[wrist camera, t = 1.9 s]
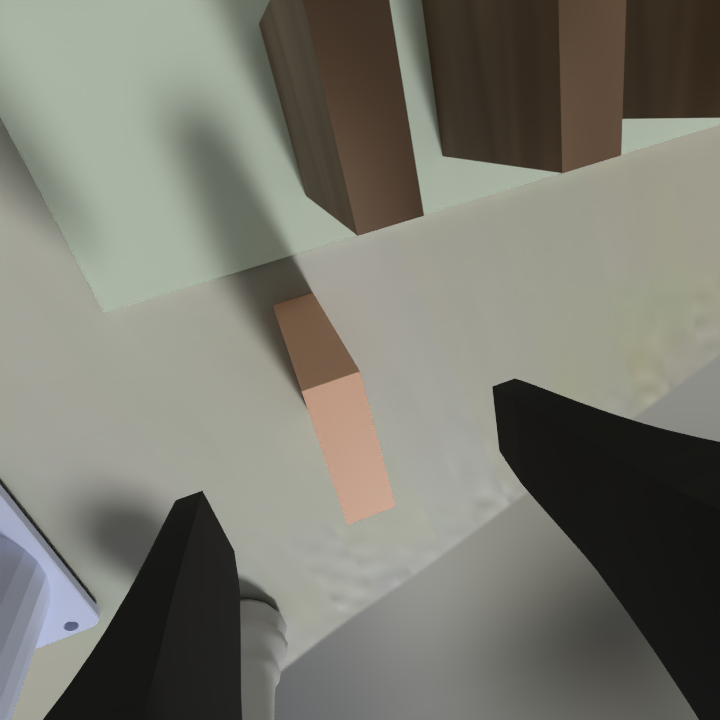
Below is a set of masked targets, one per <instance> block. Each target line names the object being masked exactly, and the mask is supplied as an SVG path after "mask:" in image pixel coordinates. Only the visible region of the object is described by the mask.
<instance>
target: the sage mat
mask: <svg viewBox="0 0 720 720" xmlns="http://www.w3.org/2000/svg"><path fill="white" fill-rule="evenodd" d="M269 1H270V0H0V118H1V120H2V122H3V124H4V126H5V127H6V129H7V131H8V133H9V135H10V137H11V139H12V141H13V142H14V144H15V146H16V148H17V150H18V152H19V154H20V156H21V157H22V159H23V161H24V163H25V165H26V167H27V169H28V171H29V173H30V174H31V176H32V178H33V180H34V182H35V184H36V186H37V188H38V189H39V191H40V193H41V195H42V197H43V199H44V201H45V203H46V205H47V206H48V208H49V210H50V212H51V214H52V216H53V218H54V220H55V221H56V223H57V225H58V227H59V229H60V231H61V233H62V235H63V237H64V238H65V240H66V242H67V244H68V246H69V248H70V250H71V252H72V253H73V255H74V257H75V259H76V261H77V263H78V265H79V267H80V268H81V270H82V272H83V274H84V276H85V278H86V280H87V282H88V284H89V285H90V287H91V289H92V291H93V293H94V295H95V297H96V299H97V300H98V302H99V304H100V306H101V308H102V310H103V312H104V313H105V312H109V311H112V310H115V309H118V308H122V307H125V306H128V305H132V304H135V303H138V302H141V301H145V300H148V299H151V298H154V297H158V296H161V295H164V294H168V293H171V292H174V291H177V290H181V289H184V288H187V287H190V286H194V285H197V284H200V283H204V282H207V281H210V280H213V279H217V278H220V277H223V276H226V275H230V274H233V273H236V272H240V271H243V270H246V269H249V268H253V267H256V266H259V265H262V264H266V263H269V262H272V261H276V260H279V259H282V258H285V257H289V256H292V255H295V254H298V253H302V252H305V251H308V250H311V249H315V248H318V247H321V246H325V245H328V244H331V243H334V242H338V241H341V240H344V239H347V238H351V237H354V236H357V235H356V234H355V233H353V232H352V231H351V230H350V229H348V228H347V227H346V226H344V225H343V224H342V223H340V222H339V221H338V220H337V219H335V218H334V217H333V216H331V215H330V214H329V213H327V212H326V211H325V210H324V209H322V208H321V207H320V206H318V205H317V204H316V203H314V202H313V201H312V200H311V199H309V198H308V197H307V196H306V194H305V191H304V187H303V183H302V180H301V176H300V172H299V169H298V165H297V161H296V158H295V154H294V151H293V147H292V143H291V140H290V136H289V132H288V129H287V125H286V121H285V118H284V114H283V110H282V107H281V103H280V99H279V96H278V92H277V88H276V85H275V81H274V77H273V74H272V70H271V66H270V63H269V59H268V56H267V52H266V48H265V45H264V41H263V37H262V34H261V30H260V26H259V22H260V20H261V18H262V16H263V14H264V12H265V9H266V7H267V5H268V3H269ZM389 2H390V8H391V14H392V20H393V26H394V33H395V39H396V45H397V51H398V57H399V64H400V70H401V76H402V82H403V88H404V95H405V101H406V107H407V113H408V119H409V126H410V132H411V138H412V144H413V150H414V157H415V163H416V169H417V175H418V181H419V188H420V194H421V200H422V206H423V212H424V215H426V214H429V213H433V212H436V211H439V210H442V209H446V208H449V207H452V206H455V205H459V204H462V203H465V202H469V201H472V200H475V199H478V198H482V197H485V196H488V195H491V194H495V193H498V192H501V191H505V190H508V189H511V188H514V187H518V186H521V185H524V184H527V183H531V182H534V181H537V180H541V179H544V178H547V177H550V176H554V175H557V174H560V173H558V172H551V171H544V170H536V169H529V168H522V167H515V166H508V165H501V164H494V163H487V162H480V161H472V160H465V159H458V158H451V157H444V156H443V155H442V147H441V140H440V133H439V125H438V118H437V110H436V103H435V95H434V88H433V81H432V73H431V66H430V58H429V51H428V44H427V36H426V29H425V21H424V14H423V6H422V0H389ZM717 125H720V118H658V119H622V146H621V155H622V154H626V153H629V152H632V151H635V150H639V149H642V148H645V147H648V146H652V145H655V144H658V143H662V142H665V141H668V140H671V139H675V138H678V137H681V136H684V135H688V134H691V133H694V132H698V131H701V130H704V129H707V128H711V127H714V126H717Z"/></svg>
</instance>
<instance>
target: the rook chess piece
mask: <svg viewBox="0 0 720 720" xmlns="http://www.w3.org/2000/svg"><path fill="white" fill-rule="evenodd" d="M240 619H241V702H242V720H274V695H275V687H276V685H277V684H278V683H279V679H280V674H281V671H280V670H281V669H282V668H283V666H284V664H285V658H286V652H287V645H288V644H287V642H286V639H285V632H286V623H285V621H284V619H283V617H282V615H281V614H280V613H279V612H278V611H276V610H275V609H273V608H272V607H270V606H269V605H267V604H266V603H265V602H263V601H258V600H253V599H240Z"/></svg>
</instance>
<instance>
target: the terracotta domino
mask: <svg viewBox="0 0 720 720" xmlns="http://www.w3.org/2000/svg"><path fill="white" fill-rule="evenodd" d="M273 308H274V311H275V314H276V317H277V320H278V323H279V326H280V329H281V332H282V335H283V338H284V340H285V343H286V346H287V349H288V352H289V355H290V358H291V361H292V364H293V367H294V370H295V373H296V376H297V379H298V382H299V385H300V388H301V391H302V394H303V397H304V400H305V403H306V406H307V409H308V412H309V414H310V417H311V420H312V423H313V426H314V429H315V432H316V435H317V438H318V441H319V444H320V446H321V449H322V452H323V455H324V458H325V461H326V464H327V467H328V470H329V473H330V476H331V478H332V481H333V484H334V487H335V490H336V493H337V496H338V499H339V502H340V505H341V508H342V510H343V513H344V516H345V519H346V522H347V525H348V524H351V523H354V522H356V521H359V520H361V519H364V518H367V517H369V516H372V515H374V514H377V513H379V512H382V511H385V510H387V509H390V508H392V507H395V506H396V505H395V502H394V498H393V494H392V490H391V487H390V483H389V479H388V475H387V472H386V468H385V464H384V460H383V457H382V453H381V449H380V445H379V442H378V438H377V434H376V430H375V427H374V423H373V419H372V415H371V412H370V408H369V404H368V400H367V397H366V393H365V389H364V385H363V382H362V378H361V374H360V371H359V369H358V368H357V366H356V364H355V363H354V361H353V359H352V358H351V356H350V354H349V353H348V351H347V349H346V348H345V346H344V344H343V343H342V341H341V339H340V338H339V336H338V334H337V332H336V331H335V329H334V327H333V326H332V324H331V322H330V321H329V319H328V317H327V316H326V314H325V312H324V311H323V309H322V307H321V306H320V304H319V302H318V301H317V299H316V297H315V296H314V294H313V293H310V294H307V295H304V296H300V297H297V298H294V299H291V300H288V301H285V302H282V303H278V304H275V305H273Z"/></svg>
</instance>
